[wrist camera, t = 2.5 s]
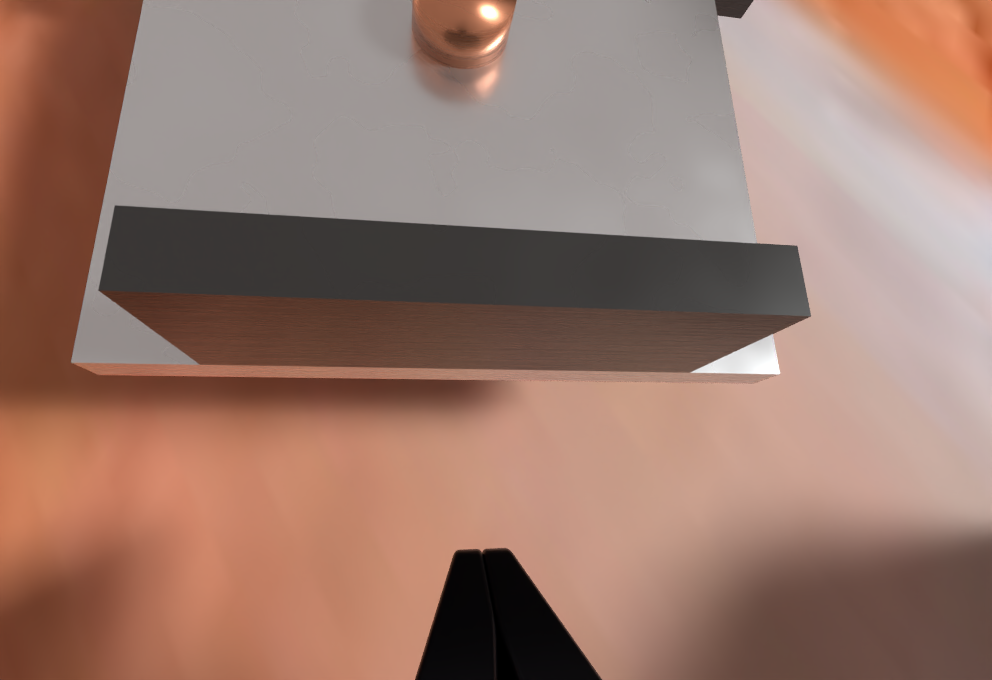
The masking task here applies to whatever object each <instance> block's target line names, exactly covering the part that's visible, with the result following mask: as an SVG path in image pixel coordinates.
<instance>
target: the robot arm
mask: <svg viewBox="0 0 992 680" xmlns="http://www.w3.org/2000/svg"><path fill="white" fill-rule="evenodd" d="M415 680H602V679H601V677H600V676H599V675H598V673H597V672H596V670H595V669H594V668H593V666H592V665H591V663H590V662H589V661H588V659H587V658H586V656H585V655H584V653H583V652H582V651H581V649H580V648H579V646H578V645H577V644H576V642H575V641H574V639H573V638H572V637H571V635H570V634H569V632H568V631H567V629H566V628H565V627H564V625H563V624H562V622H561V621H560V620H559V618H558V617H557V615H556V614H555V612H554V611H553V610H552V608H551V607H550V605H549V604H548V603H547V601H546V600H545V598H544V597H543V596H542V594H541V593H540V591H539V590H538V588H537V587H536V586H535V584H534V583H533V581H532V580H531V579H530V577H529V576H528V574H527V573H526V572H525V570H524V569H523V567H522V566H521V564H520V563H519V562H518V560H517V559H516V557H515V556H514V555H513V553H512V552H511V551H510V550H509V549H507V548H495V549H485V550H484V551H483V552H481V551H480V550H478V549H468V550H457V551H456V552H455V553H454V555H453V558H452V562H451V565H450V568H449V571H448V575H447V578H446V581H445V584H444V588H443V591H442V594H441V597H440V601H439V604H438V607H437V610H436V613H435V617H434V620H433V623H432V626H431V630H430V633H429V636H428V639H427V643H426V646H425V649H424V652H423V656H422V659H421V662H420V665H419V668H418V672H417V675H416V678H415Z"/></svg>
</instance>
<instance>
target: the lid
mask: <svg viewBox="0 0 992 680" xmlns="http://www.w3.org/2000/svg"><path fill="white" fill-rule="evenodd" d="M810 316H811V314H810V308H809V303H808V298H807V293H806V288H805V283H804V278H803V273H802V268H801V263H800V258H799V253H798V247H797V246H791V245H775V244H758V243H757V240H756V235H755V229H754V223H753V217H752V212H751V206H750V200H749V194H748V189H747V183H746V177H745V171H744V166H743V160H742V154H741V149H740V143H739V137H738V131H737V126H736V120H735V114H734V108H733V103H732V97H731V91H730V85H729V80H728V74H727V68H726V62H725V57H724V51H723V45H722V40H721V34H720V28H719V22H718V17H717V11H716V5H715V0H143V5H142V10H141V15H140V20H139V25H138V30H137V35H136V40H135V45H134V50H133V55H132V60H131V65H130V70H129V75H128V80H127V85H126V90H125V95H124V100H123V105H122V110H121V115H120V120H119V125H118V130H117V135H116V140H115V145H114V150H113V155H112V160H111V165H110V170H109V175H108V180H107V185H106V190H105V195H104V200H103V205H102V210H101V215H100V220H99V225H98V230H97V235H96V240H95V245H94V250H93V255H92V260H91V264H90V269H89V274H88V279H87V284H86V289H85V294H84V299H83V304H82V309H81V314H80V319H79V324H78V329H77V334H76V339H75V344H74V349H73V354H72V359H71V363H73V364H75V365H77V366H80V367H82V368H84V369H86V370H88V371H91V372H93V373H95V374H97V375H136V376H213V377H289V378H366V379H442V380H519V381H595V382H672V383H748V384H753V383H756V382H759V381H762V380H765V379H768V378H770V377H773V376H776V375H779V374H780V372H779V366H778V361H777V355H776V349H775V343H774V338H773V334H774V333H776V332H778V331H780V330H783V329H785V328H787V327H789V326H791V325H793V324H795V323H798V322H800V321H802V320H804V319H806V318H808V317H810Z"/></svg>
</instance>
